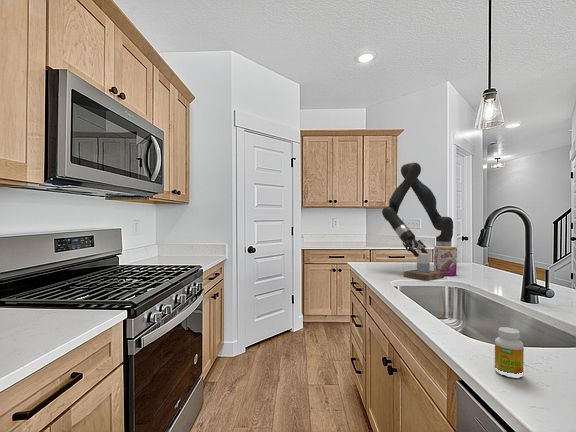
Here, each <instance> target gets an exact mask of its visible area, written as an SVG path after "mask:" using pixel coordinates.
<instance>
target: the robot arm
mask: <svg viewBox="0 0 576 432" xmlns="http://www.w3.org/2000/svg"><path fill="white" fill-rule="evenodd" d="M400 172H401V174H400V175H401V176H402V178H403V181H402V182H401V183H400V185H398V186H397V188H396V189H395V190H394V191H393V193H392V195H391V196H390V199H389V200H388V203H389V205H388V206H385V207H383V209H381V214H382V216H383V218H384V220H386V221H387V222H388V223H389V225H390V226H391V228H392V229H393V231H394V232H395V233H396V235H397V237H398V238H399V239H400V240H401V242H402V245H403V247H404V248H405V250H406V251H407V252H408V253H409V252H410V253H412V254H413V256H414V257H415V258H417V257H418V256H419V254H420V253H418V252H417V250H419V251H420V252H421V253H425V254H429V252H428V251H427V250H426V248H427V246H426V245H425V244H424V242H422V240H421V239H418V240H417V239H416V235H415V234H414V233H413V231H412V230H411V229H410V228H409V227H408V226H407V225H406V224H405V222H404V221H403V220H402V219H401V218H400V216H399V215H398V213H399V210H400V206H401V205H402V203H403V200H404V198H405V196H406V195H407V193H408V192H409V190H410V189H411V190H412V191H413V192H414V194H415V197H417V199H418V201H419V203H420V204H421V205H422V207H423V209H424V211H425V212H426V214H427V215H428V218H429V220H430V222H431V224H432V226H433V228H434V229H435V230H437V231H440V233H439V235H437V236H435V246H444V247H452V240H453V235H454V221H453V219H452V217H450V216H442V215H441V214H440V213H439V211H438V210H437V198H436V196H435V194H434V193H433V191H432V190H431V189H430V188H429V187H428V186H427V185H426V184H424V183H423V182H422V181H421V180H420V179H419V176H420V175H421V172H422V167H421V165H420V163H418V162H410V163H406V164H405V163H404V164H403V165H402V166H401V167H400Z"/></svg>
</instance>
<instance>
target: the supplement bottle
mask: <svg viewBox="0 0 576 432" xmlns="http://www.w3.org/2000/svg"><path fill="white" fill-rule="evenodd" d="M497 333H498V337H496V338H495V339H494V369H495V368H497V369H498V370H500V371H503V372H507V373H514V374H517V373H518V374H519V373H522V372H523V373H524V356H525V354H524V352H525V351H524V348H525V346H524V343H523V342H522V341H521V340H520V338H521V332H520V330H518V329H516V328H512V327H508V326H507V327H505V326H503V327H499V328H498V332H497Z"/></svg>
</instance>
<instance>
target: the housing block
mask: <svg viewBox="0 0 576 432" xmlns="http://www.w3.org/2000/svg"><path fill="white" fill-rule="evenodd" d="M418 254H419V256H418V257H416V270H417V272H422V273H427V272H430V270H431V269H430V268H431V265H430V261H431V260H430V259H431V258H430V256H431V255H430V253H428V254H425V253H422V252H421V253H420V252H419V253H418Z"/></svg>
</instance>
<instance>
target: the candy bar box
mask: <svg viewBox="0 0 576 432" xmlns="http://www.w3.org/2000/svg"><path fill="white" fill-rule="evenodd" d="M433 249H434V250H433V251H434V252H433V254H434V255H433V257H434V258H433V271H438V272H444V277H456V276H457V266H458V265H457V260H458V258H457V257H458V255H457V254H458V253H457V252H458V251H457V250H458V247H456V246H451V247H444V246H436V245H435V246H434V248H433Z"/></svg>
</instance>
